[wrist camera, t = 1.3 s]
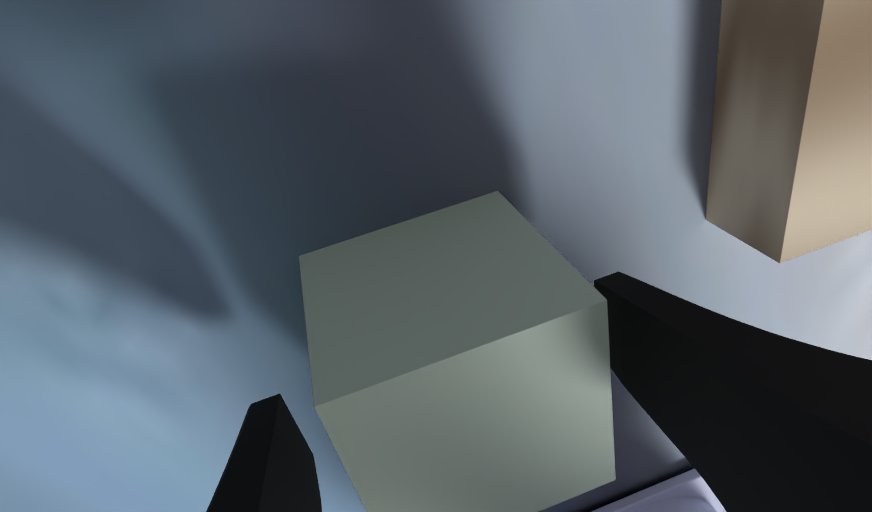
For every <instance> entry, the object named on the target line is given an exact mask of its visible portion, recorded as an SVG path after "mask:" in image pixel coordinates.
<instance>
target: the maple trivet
mask: <svg viewBox="0 0 872 512" xmlns="http://www.w3.org/2000/svg"><path fill="white" fill-rule="evenodd" d="M706 220H707V221H709V222H710V223H712V224H714V225H716V226H717V227H719V228H721V229H722V230H724V231H726V232H727V233H729V234H731V235H733V236H734V237H736V238H738V239H739V240H741V241H743V242H744V243H746V244H748V245H750V246H751V247H753V248H755V249H756V250H758V251H760V252H761V253H763V254H765V255H767V256H768V257H770V258H772V259H773V260H775V261H777V262H778V263H782V262H785V261H788V260H790V259H793V258H796V257H798V256H801V255H804V254H807V253H809V252H812V251H815V250H817V249H820V248H823V247H825V246H828V245H831V244H833V243H836V242H839V241H842V240H844V239H847V238H850V237H852V236H855V235H858V234H860V233H863V232H866V231H868V230H871V229H872V0H722V8H721V21H720V35H719V48H718V61H717V75H716V88H715V102H714V115H713V129H712V142H711V155H710V169H709V182H708V196H707V209H706Z"/></svg>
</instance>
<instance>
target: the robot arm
mask: <svg viewBox="0 0 872 512" xmlns="http://www.w3.org/2000/svg"><path fill="white" fill-rule="evenodd" d="M594 287H595V288H596V289H597V290H598V291H599V292H600V293H601V294H602V295H603V296H604V297H605V298H606V299H607V309H608V330H609V351H610V367H611V368H612V370H613V371H614V373H615V374H616V376H617V377H618V378H619V380H620V381H621V383H622V384H623V385H624V387H625V388H626V389H627V390H628V391H629V393H630V394H631V395H632V396H633V397H634V398H635V400H636V401H637V402H638V403H639V404H640V405H641V407H642V408H643V409H644V410H645V411H646V412H647V414H648V415H649V416H650V417H651V418H652V419H653V421H654V422H655V423H656V424H657V425H658V426H659V427H660V429H661V430H662V431H663V432H664V433H665V434H666V435H667V437H668V438H669V439H670V440H671V441H672V442H673V444H674V445H675V446H676V447H677V448H678V449H679V450H680V452H681V453H682V454H683V455H684V456H685V457H686V459H687V460H688V461H689V462H690V463H691V464H692V466H693V467H694V469H692V470H690V471H687V472H685V473H682V474H680V475H678V476H675V477H673V478H670V479H668V480H666V481H663V482H661V483H658V484H656V485H654V486H651V487H649V488H646V489H644V490H642V491H639V492H637V493H634V494H632V495H630V496H627V497H625V498H622V499H620V500H618V501H615V502H613V503H610V504H608V505H606V506H603V507H601V508H598V509H596V510H594V511H591V512H724V510H726V512H872V360H868V359H864V358H859V357H855V356H851V355H847V354H843V353H839V352H835V351H831V350H827V349H824V348H820V347H817V346H814V345H810V344H807V343H803V342H800V341H796V340H793V339H789V338H786V337H783V336H780V335H777V334H774V333H771V332H768V331H765V330H762V329H759V328H756V327H754V326H751V325H748V324H745V323H742V322H739V321H737V320H734V319H731V318H729V317H726V316H724V315H721V314H718V313H716V312H713V311H711V310H708V309H706V308H703V307H701V306H698V305H696V304H694V303H691V302H689V301H686V300H684V299H682V298H679V297H677V296H675V295H672V294H670V293H668V292H665V291H663V290H661V289H658V288H656V287H654V286H652V285H649V284H647V283H645V282H642V281H640V280H638V279H635V278H633V277H631V276H628V275H626V274H623V273H621V272H616V273H613V274H611V275H608V276H605V277H602V278H600V279H597V280H594ZM206 512H322V507H321V497H320V491H319V485H318V479H317V473H316V467H315V462H314V456H313V453H312V452H311V450H310V448H309V446H308V444H307V442H306V441H305V439H304V437H303V435H302V433H301V431H300V429H299V428H298V426H297V424H296V422H295V420H294V418H293V417H292V415H291V413H290V411H289V409H288V407H287V406H286V404H285V402H284V400H283V398H282V396H281V395H280V394H277V395H275V396H272V397H269V398H266V399H263V400H261V401H258V402H255V403H252V404H251V405H250V407H249V409H248V411H247V414H246V416H245V419H244V421H243V424H242V427H241V429H240V432H239V435H238V437H237V440H236V442H235V445H234V448H233V450H232V452H231V455H230V457H229V460H228V462H227V465H226V467H225V470H224V472H223V474H222V477H221V479H220V481H219V484H218V486H217V488H216V491H215V493H214V495H213V498H212V500H211V502H210V505H209V507H208V509H207V511H206Z"/></svg>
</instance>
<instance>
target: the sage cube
mask: <svg viewBox="0 0 872 512" xmlns="http://www.w3.org/2000/svg"><path fill="white" fill-rule="evenodd" d="M299 263H300V273H301V283H302V293H303V303H304V313H305V323H306V332H307V342H308V352H309V362H310V372H311V382H312V392H313V402H314V408H315V410H316V412H317V414H318V416H319V418H320V420H321V422H322V424H323V426H324V428H325V430H326V432H327V434H328V436H329V438H330V440H331V442H332V444H333V446H334V448H335V450H336V452H337V454H338V456H339V458H340V460H341V462H342V464H343V466H344V468H345V470H346V472H347V474H348V476H349V478H350V480H351V482H352V484H353V486H354V488H355V490H356V492H357V494H358V496H359V498H360V500H361V502H362V504H363V506H364V508H365V510H366V512H539V511H542V510H544V509H547V508H549V507H551V506H554V505H556V504H559V503H561V502H563V501H566V500H568V499H571V498H573V497H576V496H578V495H580V494H583V493H585V492H588V491H590V490H593V489H595V488H597V487H600V486H602V485H605V484H607V483H610V482H612V481H614V480H616V475H615V454H614V433H613V413H612V392H611V371H610V351H609V330H608V309H607V299H606V298H605V297H604V296H603V295H602V294H601V293H600V292H599V291H598V290H597V289H596V288H595V287H594V286H593V285H592V284H591V283H590V282H589V281H588V280H587V279H586V278H585V277H584V276H583V275H582V274H581V273H580V272H579V271H578V270H577V269H576V268H575V267H574V266H573V265H572V264H571V263H570V262H569V261H568V260H567V259H566V258H565V257H564V256H563V255H562V254H561V253H560V252H559V251H558V250H557V249H556V248H555V247H554V246H553V245H552V244H551V243H550V242H549V241H548V240H547V239H546V238H545V237H544V236H543V235H542V234H541V233H540V232H539V231H538V230H537V229H536V228H535V227H534V226H533V225H532V224H531V223H530V222H529V221H528V220H527V219H526V218H525V217H524V216H523V215H522V214H521V213H520V212H519V211H518V210H517V209H516V208H515V207H514V206H513V205H512V204H511V203H510V202H509V201H508V200H507V199H506V198H505V197H504V196H503V195H502V194H501V193H500V192H499V191H495V192H492V193H489V194H486V195H483V196H480V197H477V198H474V199H471V200H468V201H465V202H462V203H459V204H456V205H452V206H449V207H446V208H443V209H440V210H437V211H434V212H431V213H428V214H425V215H422V216H419V217H416V218H413V219H410V220H407V221H404V222H401V223H398V224H394V225H391V226H388V227H385V228H382V229H379V230H376V231H373V232H370V233H367V234H364V235H361V236H358V237H355V238H352V239H349V240H346V241H343V242H340V243H336V244H333V245H330V246H327V247H324V248H321V249H318V250H315V251H312V252H309V253H306V254H303V255H300V256H299Z"/></svg>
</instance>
